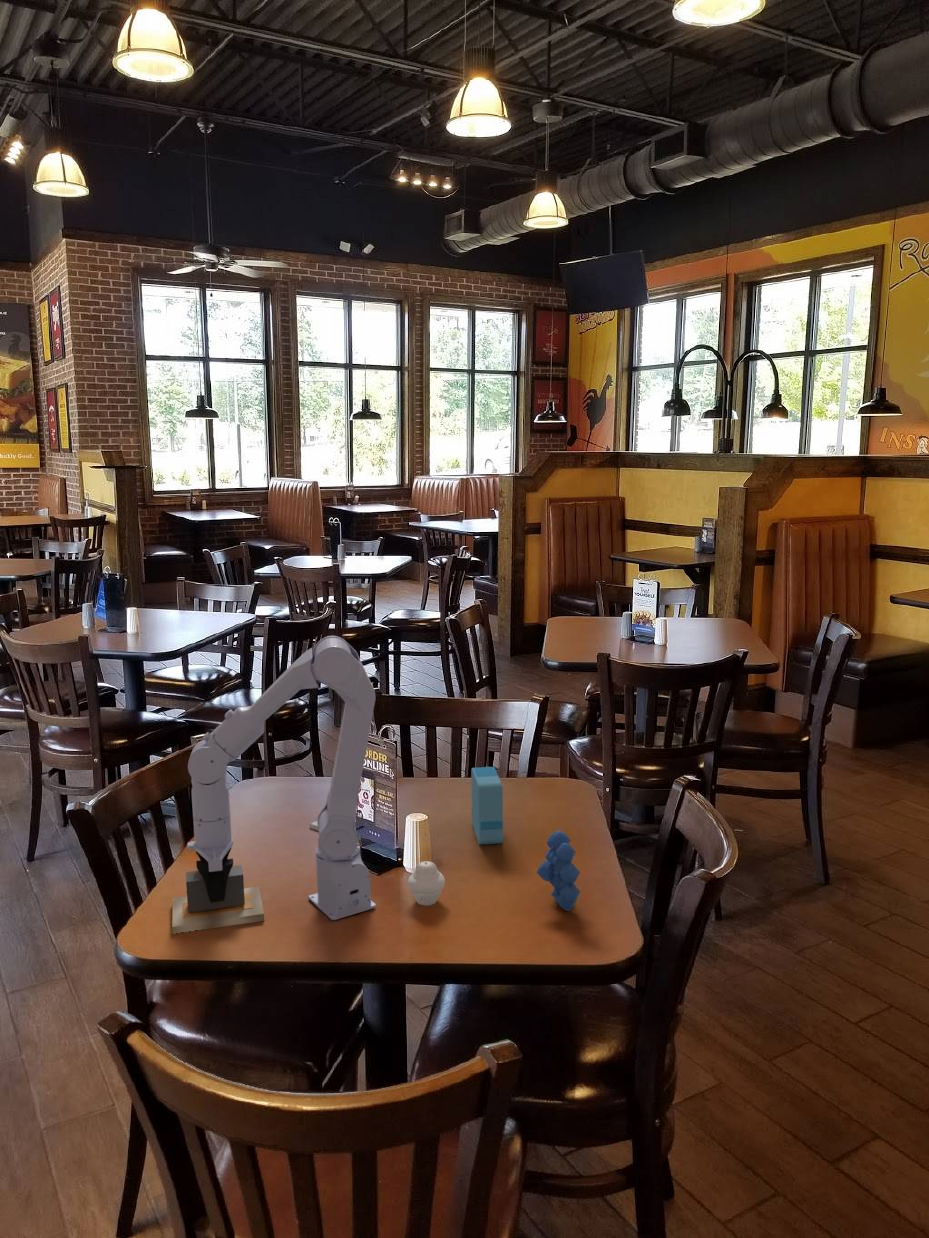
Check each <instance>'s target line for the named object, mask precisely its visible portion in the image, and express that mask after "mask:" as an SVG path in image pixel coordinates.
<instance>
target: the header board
mask: <svg viewBox="0 0 929 1238" xmlns="http://www.w3.org/2000/svg"><path fill="white" fill-rule="evenodd" d="M244 898H245V905H239V906H232V907H225V908H218V909H211V910H204V911H197V912H190V913H188V902H187V895H186V896H180V897H174V898H173V897H172V907H171V908H172V910H171V911H172V912H171V913H172V915H171V916H172V917H171V919H172V921H171V922H172V923H171V925H172V926H171V929H172V935H177V934H176V933H178V934H181V933H180V932H184V933H190V932H189V931H191V932H196V931H195V930H198V931H203V929H204V931H205V930H210V929H211V930H212V929H216V928H224V927H230V926H231V927H232V926H237V925H238V926H239V925H244V924H251V923H257V922H264V921H265V912H264V907H263V902H262V896H261V891H260V886H252V887H247V888H246V887H244Z"/></svg>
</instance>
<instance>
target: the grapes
mask: <svg viewBox="0 0 929 1238" xmlns="http://www.w3.org/2000/svg"><path fill="white" fill-rule="evenodd" d="M570 841H571V839H570V837H569V836H568V835H567V834H566V833H565V832H564V831H562V830H557V831H556V832H552V833H551V834H550V836H549V837H548V839H547V841H546V842H545V843H546V845H547V847H548V848H549V849H548V850H547V852H546V854H545V856H544V858H545V859H546V860H544V861H542V862H541V863H540V865H539V866H538V869H537V871H536V873H537V874H538V876H539V877H540V879H542V880H543V881H545V882H549V883H550V884H551V885H552V887H553V890H552V893H551V896H552V897H553V898H554V899H555V901H556V902H557V904H558V905H559V906H560V907H561V908H562V909H563V910H565V911H571V910H572V909H573V908H574V906H575V904H576V903H577V901H578V900H577V899H578V897H579V894H580V893H581V890H580V889H579V888H578V887H577V885H576V884H575V882H576V881H577V880H578V878H579V875H580V873H581V872H580V870H578V868H577V866H576V865H575V864H574V863H573V862H572V861H573V860H574V858H575V856H576V853H577V852H576V850H575V849H574V847H573V846H572V845H571V844H570Z"/></svg>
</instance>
